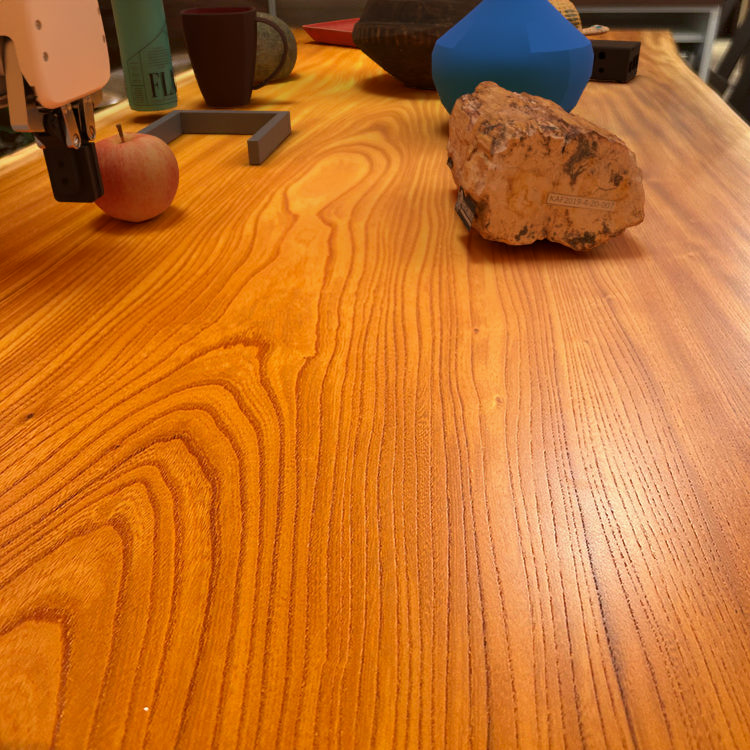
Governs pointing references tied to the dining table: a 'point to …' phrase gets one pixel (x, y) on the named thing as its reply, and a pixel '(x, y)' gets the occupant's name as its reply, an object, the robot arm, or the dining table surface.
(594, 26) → the decorative figurine
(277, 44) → the grey green rounded stone
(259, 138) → the bay
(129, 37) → the beverage bottle
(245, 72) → the mug
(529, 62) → the vase
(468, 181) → the petrified wood
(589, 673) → the dining table surface
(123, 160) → the apple
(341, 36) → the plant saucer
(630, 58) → the electronic device
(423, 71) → the ceramic pot
